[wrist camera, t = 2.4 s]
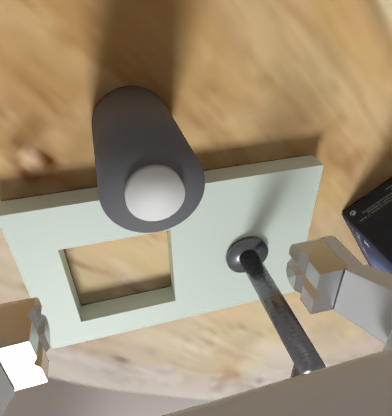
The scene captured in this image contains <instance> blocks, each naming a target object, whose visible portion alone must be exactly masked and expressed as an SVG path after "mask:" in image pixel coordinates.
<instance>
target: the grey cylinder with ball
mask: <svg viewBox="0 0 392 416" xmlns="http://www.w3.org/2000/svg"><path fill="white" fill-rule="evenodd" d="M92 134H93V144H94V154H95V165H96V175H97V185H98V195H99V201H100V204H101V207H102V209H103V211H104V212H105V214H106V215H107V216H108V217H109V218H110V219H111V220H112V221H113V222H114V223H115V224H117V225H119V226H120V227H122V228H125V229H127V230H130V231H134V232H140V233H153V232H159V231H164V230H167V229H170V228H172V227H174V226H176V225H178V224H180V223H181V222H183V221H184V220H185V219H187V218H188V217H189V216H190V215H191V214H192V213H193V212H194V211H195V209H196V208H197V207H198V205H199V203H200V201H201V199H202V197H203V194H204V189H205V175H204V171H203V168H202V166H201V164H200V162H199V161H198V159H197V157H196V156H195V154H194V152H193V150H192V149H191V147H190V145H189V144H188V142H187V140H186V139H185V137H184V135H183V134H182V132H181V130H180V129H179V127H178V125H177V124H176V122H175V120H174V119H173V117H172V115H171V114H170V112H169V110H168V109H167V107H166V105H165V104H164V102H163V101H162V100H161V99H160V98H159V97H158V96H157V95H156V94H155V93H153V92H151V91H150V90H147V89H145V88H141V87H136V86H126V87H121V88H118V89H115V90H113V91H111V92H109V93H108V94H106V95H105V96H104V97H103V98H102V99H101V100H100V101H99V103H98V104H97V106H96V108H95V110H94V113H93V116H92Z"/></svg>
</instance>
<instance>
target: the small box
mask: <svg viewBox="0 0 392 416" xmlns="http://www.w3.org/2000/svg"><path fill="white" fill-rule="evenodd" d="M342 215H343V217H344V219H345V221H346V223H347V225H348V227H349V229H350V230H351V232H352V234H353V236H354V238H355V240H356V242H357V243H358V245H359V247H360V249H361V251H362V253H363V255H364V256H365V258H366V260H367V262H368V264H369V266H372V267H374V268H377V269H379V270H382V271H384V272H386V273H389V274H391V275H392V179H391V180H389V181H388V182H386V183H385V184H383V185H382V186H380V187H379V188H377V189H376V190H374V191H373V192H372V193H370V194H369V195H367V196H366V197H364V198H363V199H361V200H359V201H358V202H357V203H355V204H354V205H352V206H351V207H350V208H348V209H347V210H345V211H344V212H343V213H342Z"/></svg>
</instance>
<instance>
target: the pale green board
mask: <svg viewBox="0 0 392 416" xmlns="http://www.w3.org/2000/svg"><path fill="white" fill-rule="evenodd" d="M323 166H324V165H323V164H322V163H321V162H320V161H319V160H317V159H316V158H315V157H314V156H313V155H307V156H300V157H294V158H287V159H280V160H274V161H267V162H260V163H254V164H247V165H240V166H234V167H227V168H220V169H214V170H207V171H204V175H205V189H204V194H203V197H202V199H201V201H200V203H199V205H198V207H197V208H196V209H195V211H194V212H193V213H192V214H191V215H190V216H189V217H188V218H187V219H185V220H184V221H183V222H181V223H180V224H178V225H176V226H174V227H172V228H170V229H167V237H168V249H169V262H170V275H171V287H166V288H161V289H157V290H152V291H147V292H143V293H138V294H134V295H129V296H124V297H120V298H115V299H110V300H106V301H101V302H97V303H92V304H87V305H83V306H81V305H80V302H79V298H78V295H77V292H76V289H75V285H74V282H73V279H72V276H71V273H70V269H69V266H68V263H67V260H66V257H65V253H64V250H63V249H67V248H73V247H78V246H84V245H89V244H95V243H100V242H106V241H111V240H117V239H122V238H128V237H133V236H139V235H144V234H149V233H140V232H134V231H130V230H127V229H125V228H122V227H120V226H119V225H117V224H115V223H114V222H113V221H112V220H111V219H110V218H109V217H108V216H107V215H106V214H105V212H104V211H103V209H102V207H101V204H100V201H99V195H98V187H94V188H87V189H80V190H74V191H67V192H60V193H54V194H47V195H41V196H34V197H27V198H21V199H14V200H7V201H1V202H0V227H1V229H2V232H3V234H4V236H5V239H6V241H7V243H8V246H9V248H10V250H11V253H12V255H13V257H14V260H15V262H16V264H17V267H18V269H19V271H20V274H21V276H22V278H23V281H24V283H25V285H26V288H27V290H28V292H29V295H30V297H31V298H35V297H37V298H39V300H40V303H41V305H42V310H41V314H43V315H45V316H46V318H47V320H48V324H49V329H50V344H51V346H52V348H53V349H55V348H59V347H63V346H68V345H72V344H76V343H80V342H85V341H89V340H93V339H97V338H101V337H106V336H110V335H114V334H118V333H122V332H127V331H131V330H135V329H139V328H144V327H148V326H152V325H156V324H160V323H165V322H169V321H173V320H177V319H182V318H186V317H190V316H194V315H198V314H203V313H207V312H211V311H215V310H219V309H224V308H228V307H232V306H236V305H241V304H245V303H249V302H253V301H257V300H260V299H259V297H258V295H257V293H256V291H255V289H254V287H253V285H252V284H251V282H250V280H249V278H248V276H247V274H246V272H245V273H238V272H234V271H232V270H231V269H230V268H229V267H228V265H227V263H226V258H225V257H226V253H227V251H228V249H229V248H230V246H231V245H232V244H233V243H235V242H236V241H238V240H239V239H241V238H244V237H248V236H256V237H259V238H261V239H263V240H264V242H265V243H266V245H267V247H268V255H267V258H266V259H265V261H264V262H263V264H264V265H265V267H266V269H267V270H268V272H269V274H270V275H271V277H272V279H273V280H274V282H275V283H276V285H277V287H278V288H279V290H280V292H281V293H282V295H283V294H287V293H291V292H295V290H294V289H293V288H292V286H291V285H290V283H289V281H288V278H287V273H286V268H287V263H288V261H289V260H290V259H291V258H292V257H291V256H290V255H289V249H290V246H291V245H292V244H296V243H300V242H305V241H307V237H308V233H309V228H310V224H311V219H312V215H313V210H314V206H315V201H316V197H317V192H318V188H319V184H320V179H321V175H322V170H323ZM164 231H166V230H164ZM159 232H160V231H159ZM153 233H155V232H153Z"/></svg>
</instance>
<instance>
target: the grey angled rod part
mask: <svg viewBox="0 0 392 416" xmlns="http://www.w3.org/2000/svg"><path fill="white" fill-rule="evenodd" d="M267 255H268V247H267V245H266V243H265V242H264V240H263V239H261V238H259V237H256V236H248V237H244V238H241V239H239V240H238V241H236V242H235V243H233V244H232V245H231V246H230V248H229V249H228V251H227V253H226V257H225V258H226V263H227V265H228V267H229V268H230V269H231V270H232V271H234V272H238V273H245V272H246V274H247V276H248V278H249V280H250V282H251V284H252V285H253V287H254V289H255V291H256V293H257V295H258V297H259V299H260V300H261V302H262V304H263V306H264V308H265V310H266V312H267V314H268V315H269V317H270V319H271V321H272V323H273V325H274V327H275V329H276V330H277V332H278V334H279V336H280V338H281V340H282V342H283V344H284V345H285V347H286V349H287V351H288V353H289V355H290V357H291V358H292V360H293V362H294V366H293V370H292V374H291V377H290V378H292V377H296V376H299V375H302V374H306V373H309V372H313V371H316V370H319V369H323V368H325V364H324V363H323V361H322V359H321V358H320V356H319V354H318V353H317V351H316V349H315V348H314V346H313V344H312V343H311V341H310V339H309V338H308V336H307V335H306V333H305V331H304V330H303V328H302V326H301V325H300V323H299V321H298V320H297V318H296V316H295V315H294V313H293V311H292V310H291V308H290V307H289V305H288V303H287V302H286V300H285V298H284V297H283V295H282V293H281V292H280V290H279V288H278V287H277V285H276V283H275V282H274V280H273V279H272V277H271V275H270V274H269V272H268V270H267V269H266V267H265V265H264V264H263V262H264V261H265V259H266V258H267Z"/></svg>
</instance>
